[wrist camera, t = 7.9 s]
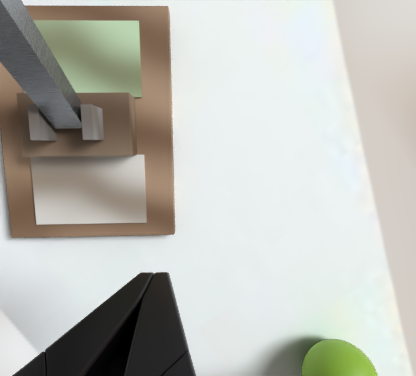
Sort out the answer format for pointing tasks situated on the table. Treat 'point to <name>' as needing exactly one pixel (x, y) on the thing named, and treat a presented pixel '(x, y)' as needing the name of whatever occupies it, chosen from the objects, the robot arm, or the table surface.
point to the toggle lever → (36, 67)
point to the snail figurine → (336, 360)
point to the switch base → (95, 128)
